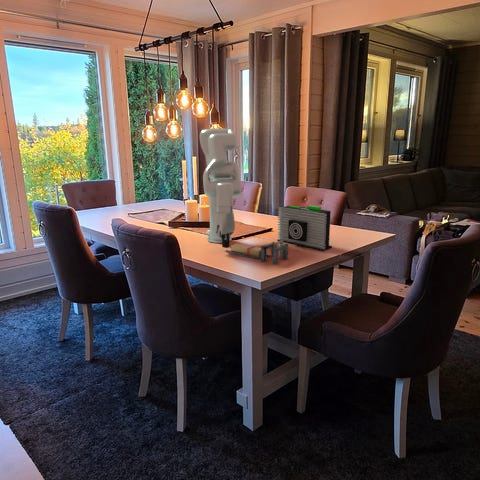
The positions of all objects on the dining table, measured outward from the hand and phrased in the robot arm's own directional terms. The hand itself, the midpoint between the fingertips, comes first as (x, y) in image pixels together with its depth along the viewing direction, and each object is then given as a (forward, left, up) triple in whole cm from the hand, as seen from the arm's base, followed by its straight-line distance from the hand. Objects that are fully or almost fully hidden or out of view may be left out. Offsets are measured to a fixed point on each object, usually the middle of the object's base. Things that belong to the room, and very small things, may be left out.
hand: (225, 247), depth 193 cm
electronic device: (+25, +30, -2) cm, 39 cm away
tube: (+13, 0, -2) cm, 13 cm away
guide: (+13, 0, -2) cm, 13 cm away
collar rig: (+27, 0, -2) cm, 28 cm away
